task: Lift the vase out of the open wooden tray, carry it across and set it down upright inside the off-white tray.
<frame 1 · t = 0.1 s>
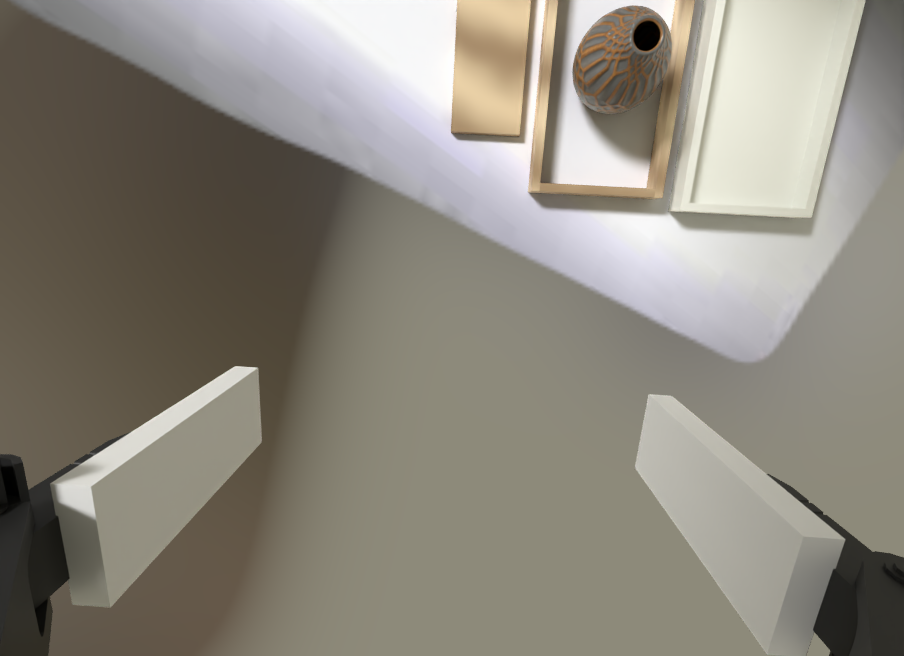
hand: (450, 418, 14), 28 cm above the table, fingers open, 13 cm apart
off-white tray: (753, 98, 37), on the table
crate lid: (490, 46, 36), on the table
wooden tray: (604, 78, 37), on the table
vase: (603, 79, 37), resting in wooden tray
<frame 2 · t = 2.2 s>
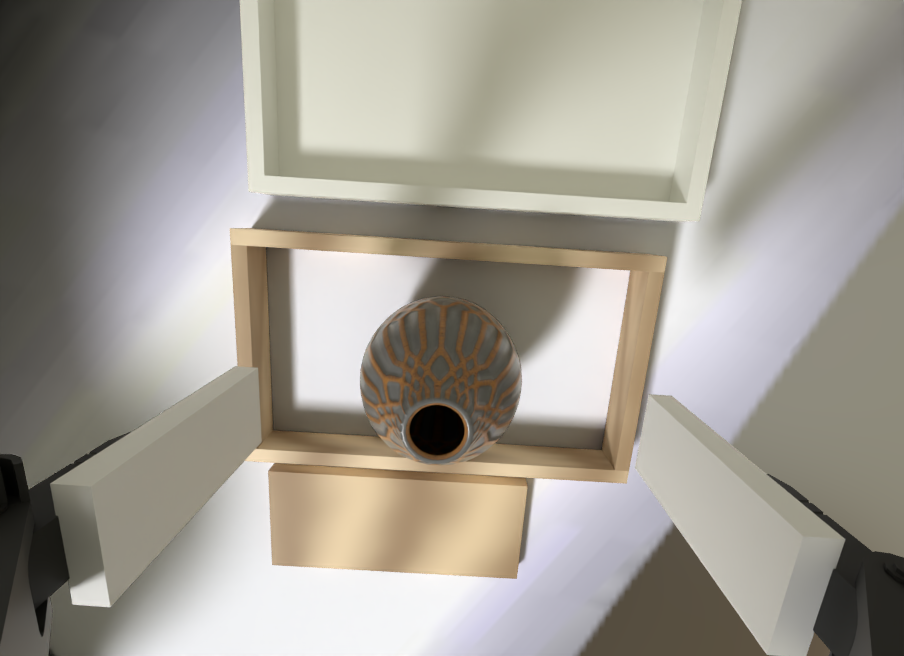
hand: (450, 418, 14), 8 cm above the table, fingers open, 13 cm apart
off-white tray: (482, 76, 19), on the table
crate lid: (398, 517, 24), on the table
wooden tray: (443, 352, 22), on the table
vase: (443, 351, 22), resting in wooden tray
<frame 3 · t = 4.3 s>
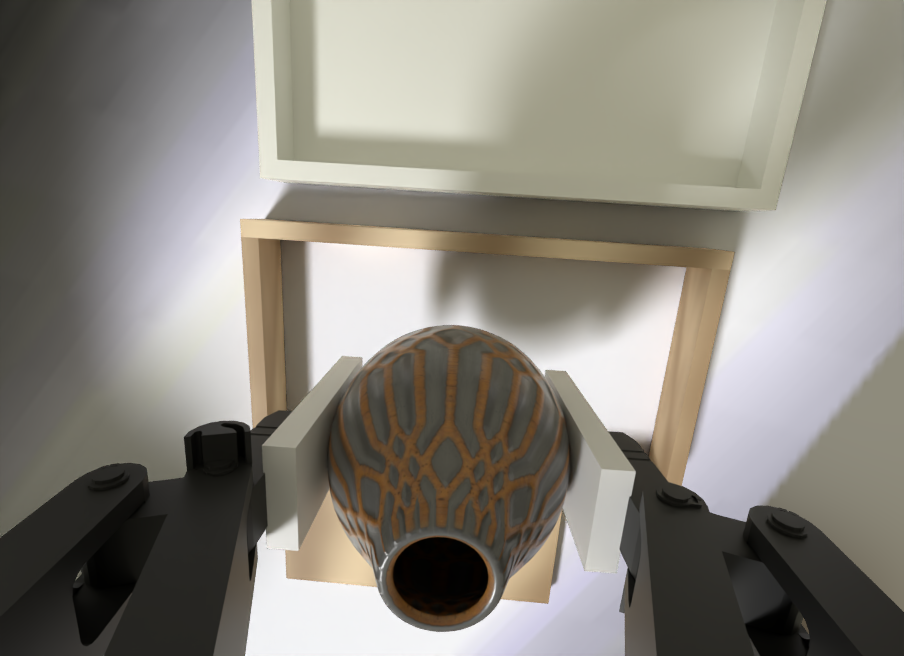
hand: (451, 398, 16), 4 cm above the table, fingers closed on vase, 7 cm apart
off-white tray: (521, 45, 17), on the table
crate lid: (420, 532, 23), on the table
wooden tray: (471, 356, 20), on the table
vase: (452, 393, 17), point 4 cm above the table, touching gripper
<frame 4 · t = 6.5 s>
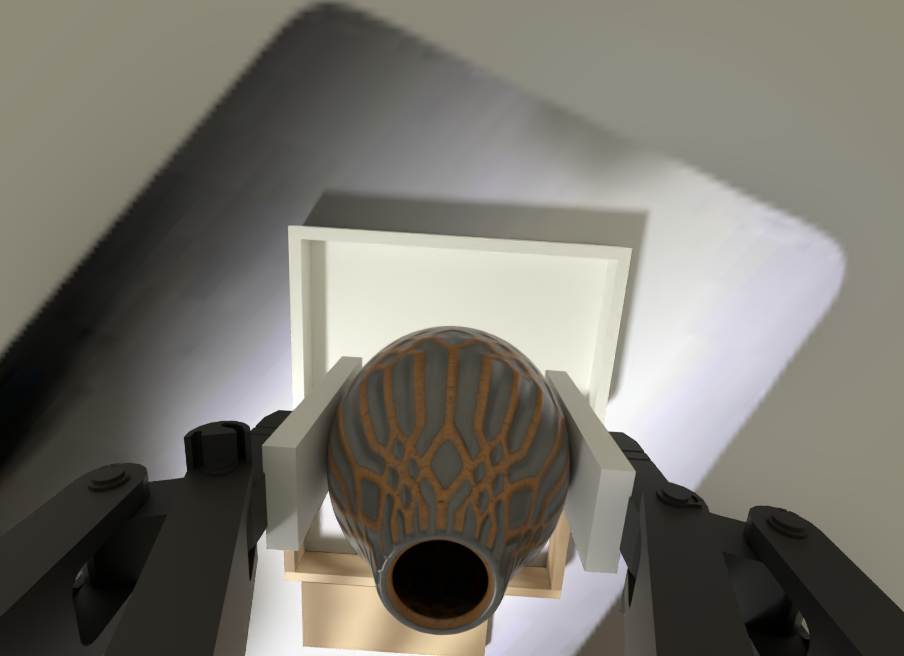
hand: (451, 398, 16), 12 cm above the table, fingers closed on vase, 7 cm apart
off-white tray: (454, 326, 27), on the table
crate lid: (396, 611, 33), on the table
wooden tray: (428, 500, 31), on the table
vase: (452, 394, 16), point 11 cm above the table, touching gripper
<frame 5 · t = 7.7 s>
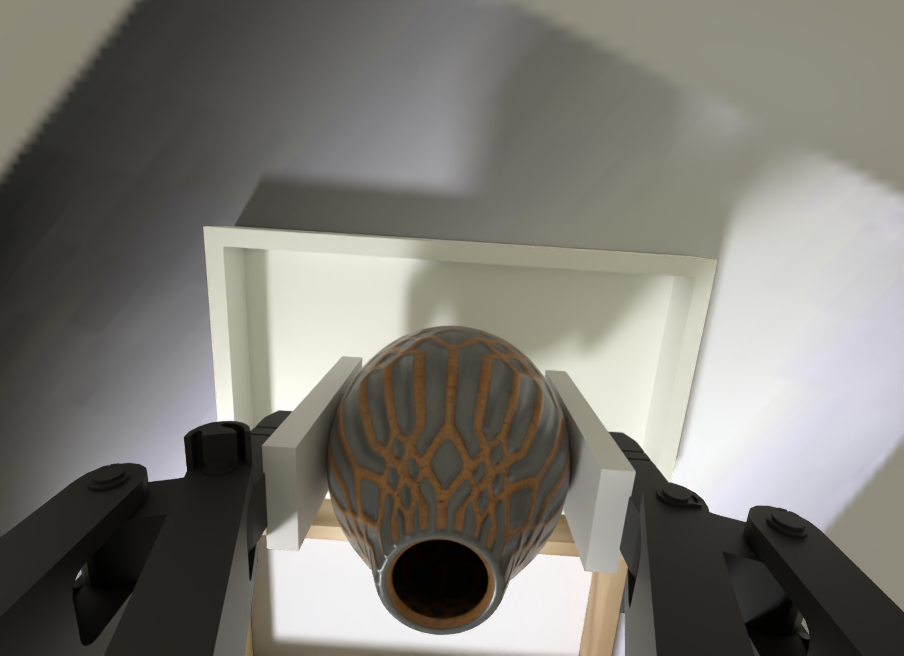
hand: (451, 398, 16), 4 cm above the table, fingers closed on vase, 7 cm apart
off-white tray: (451, 367, 20), on the table
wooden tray: (417, 597, 23), on the table
vase: (452, 394, 16), point 3 cm above the table, touching gripper
when the fingers open (2 cm above the table, at t = 8.5 s): vase drops 1 cm, resting on off-white tray.
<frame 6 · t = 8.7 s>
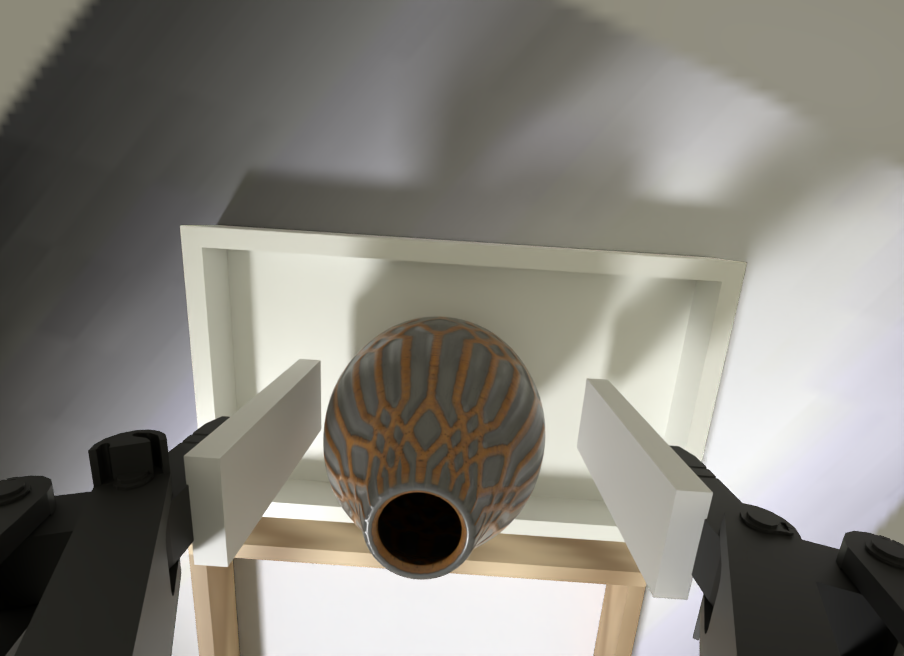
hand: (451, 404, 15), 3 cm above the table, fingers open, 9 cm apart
off-white tray: (452, 378, 18), on the table
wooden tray: (416, 622, 21), on the table
vase: (442, 383, 18), resting on off-white tray
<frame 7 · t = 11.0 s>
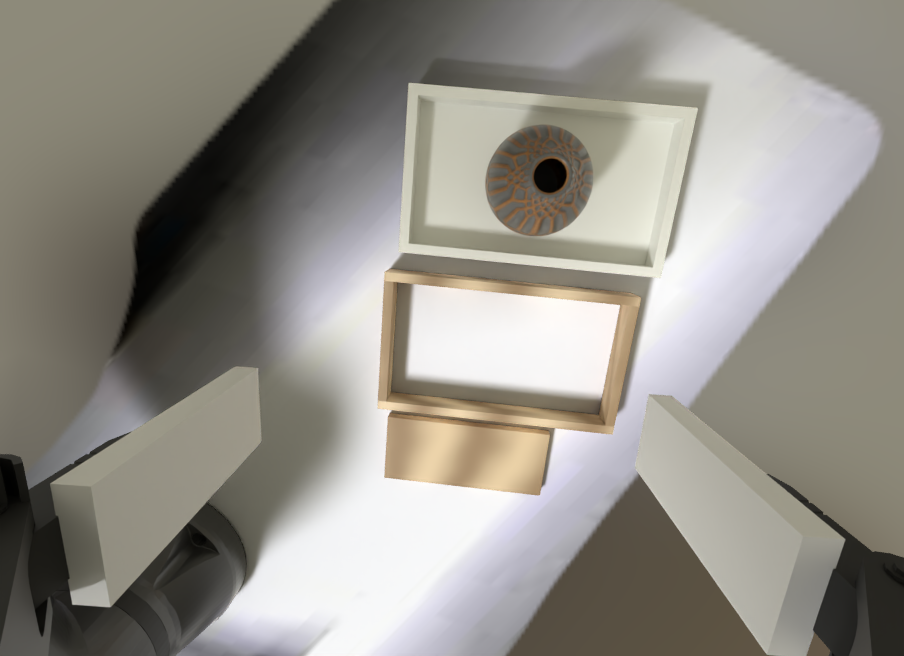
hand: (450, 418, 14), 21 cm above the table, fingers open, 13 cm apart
off-white tray: (535, 186, 32), on the table
crate lid: (465, 451, 38), on the table
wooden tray: (501, 348, 36), on the table
vase: (530, 186, 32), resting on off-white tray
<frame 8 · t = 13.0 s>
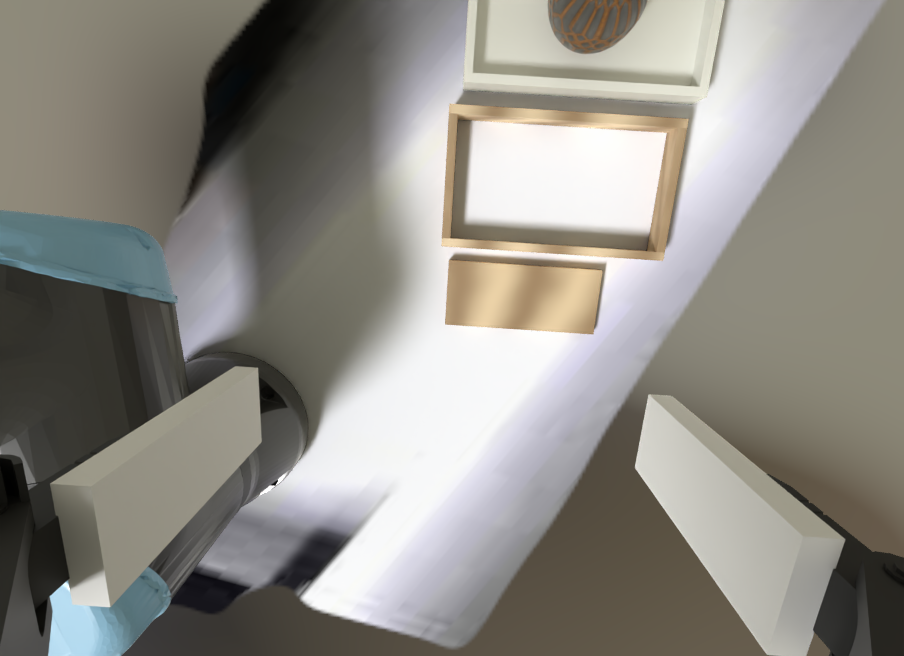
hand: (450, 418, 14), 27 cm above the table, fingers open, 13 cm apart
off-white tray: (586, 20, 35), on the table
crate lid: (521, 296, 40), on the table
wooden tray: (555, 187, 38), on the table
vase: (583, 19, 34), resting on off-white tray
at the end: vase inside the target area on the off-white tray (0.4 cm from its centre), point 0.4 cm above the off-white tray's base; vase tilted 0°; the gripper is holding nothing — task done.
